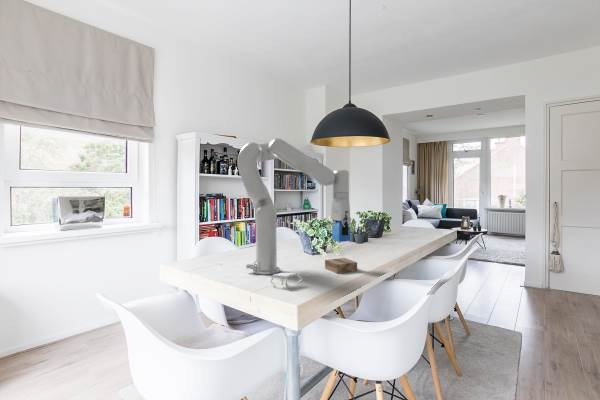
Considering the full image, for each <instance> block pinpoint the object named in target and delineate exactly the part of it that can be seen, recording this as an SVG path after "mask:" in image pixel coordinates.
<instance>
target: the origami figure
mask: <svg viewBox="0 0 600 400" xmlns="http://www.w3.org/2000/svg"><path fill="white" fill-rule="evenodd" d="M271 275H272V276H271V279H270V281H269V282H270V283H271V284H273V287H275V286H276V284H275V283H274V282H273V280H274V278H275V277H277V278H280V281H281V285H284V286H285V290H287V289H288V278H291V277H295V276H297V277H298V278H299V281H297V282H296V285H297V286H300V285H299V283H300V282H302V281H303V280H304V279H303V278H302V276H301V275H300V274H299V272H278V273H275V274H271ZM284 279H285V280H284ZM284 281H285V282H284Z"/></svg>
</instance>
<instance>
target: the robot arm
mask: <svg viewBox="0 0 600 400" xmlns="http://www.w3.org/2000/svg"><path fill="white" fill-rule="evenodd" d="M276 159H277V160H280V161H281V162H283V163H284V164H286V165H287V166H289V167H290V168H292V169H294V170H295V171H298V172H301V173H304V174H305V175H307V176H309V177H311V178H312V179H314V180H315V181H316V182H317V184H318V185H319V186H322V187H323V186H324V187H325V186H330V185H332V202H331V210H330V211H331V213H330V215H331V216H330V217H331V220H332V223H333V225H334V223H335V222H338V221H342V225H343V227H342V235H348V227H350V224H351V221H352V218H351V207H350V173H349V171H348V170H346V169H336V170H332V169H331V168H329V167H328V166H326V165H325V164H323V163H321V162H320V161H319V160H316V159H314V158H313V157H311V156H310V155H308V154H306V153H304V152H303V151H301V150H300V149H298V148H296V147H295V146H293V145H292V144H290V143H288V142H287V141H286V140H284V139H282V138H279V137H277V138H274V139H272V140H270V142H264V143H257V142H254V141H251V142H248V143H246V144H245V145H243V146H242V148H241V149H240V150H239V153H238V155H237V169H238V173H239V176H240V178H241V181H242V183H243V186H244V189H245V191H246V194H247V197H248V199H249V200H250V201H251V204H252V206H253V209H254V211H255V214H254V220H255V261H253V262H252V263H247V264H245V269H246V270H252V273H254V274H256V275H274V274H279V273H280V272H281V267H279V266H277V263H278V260H277V251H278V249H277V248H278V247H277V217H278V215H277V209H276V206H275V204H274V202H273V200H272V197H271V194H270V192H269V190H268V188H267V185H266V184H264V181H263V179H262V177H261V174H260V171H259V168H258V166H257V163H260V162H268V161H271V160H276ZM344 219H345V220H344ZM344 222H345V223H344ZM333 225H332V226H333Z"/></svg>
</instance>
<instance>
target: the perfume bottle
mask: <svg viewBox="0 0 600 400" xmlns="http://www.w3.org/2000/svg"><path fill="white" fill-rule="evenodd" d="M344 220H345V219H344ZM344 223H345V222H344ZM342 227H343V225H342V221H338V222H335V223H334V225H332V226H331V240H332V241H334V242H338V243H342V242H343V243H344V242H351V226H349V227H348V235H342Z"/></svg>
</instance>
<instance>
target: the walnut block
mask: <svg viewBox="0 0 600 400" xmlns="http://www.w3.org/2000/svg"><path fill="white" fill-rule="evenodd" d="M324 269H326V270H328V271H330V272H333V273H335V274H345V273H351V272H353V273H354V272H357V271H358V262H357V261H355V260H351V259H349V258H346V257H340V258H339V257H338V258H333V259H330V258H329V259H325V260H324Z"/></svg>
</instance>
